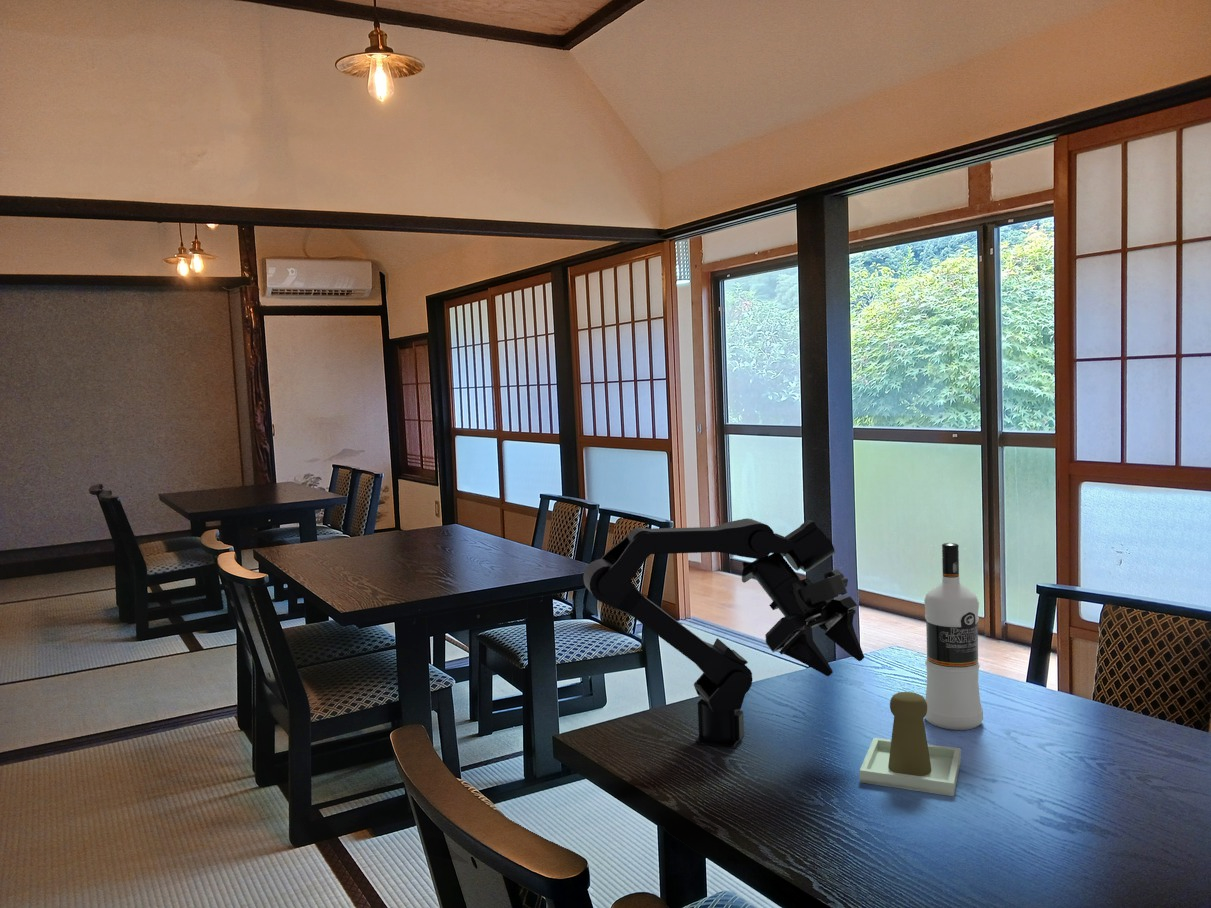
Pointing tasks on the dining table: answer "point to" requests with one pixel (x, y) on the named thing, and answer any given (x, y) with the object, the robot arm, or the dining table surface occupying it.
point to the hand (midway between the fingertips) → (846, 666)
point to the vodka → (952, 650)
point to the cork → (909, 735)
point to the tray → (936, 781)
